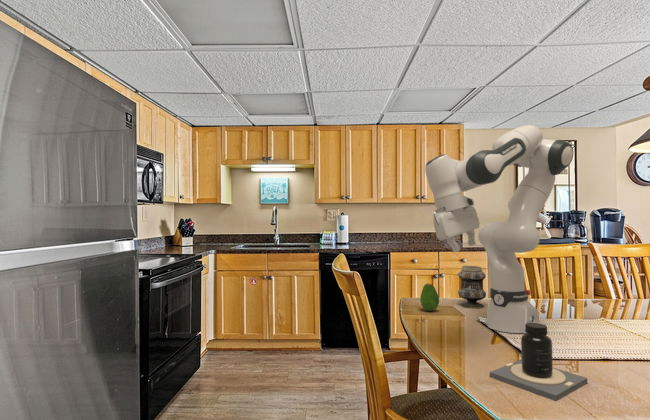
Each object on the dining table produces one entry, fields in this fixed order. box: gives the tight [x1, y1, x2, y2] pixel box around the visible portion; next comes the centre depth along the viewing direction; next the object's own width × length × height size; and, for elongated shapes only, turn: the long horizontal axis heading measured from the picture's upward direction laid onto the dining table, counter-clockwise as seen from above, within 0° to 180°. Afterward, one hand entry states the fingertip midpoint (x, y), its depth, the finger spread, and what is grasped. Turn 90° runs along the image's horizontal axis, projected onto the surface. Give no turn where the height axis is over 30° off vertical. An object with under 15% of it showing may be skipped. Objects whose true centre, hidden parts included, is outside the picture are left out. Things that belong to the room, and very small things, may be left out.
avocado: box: [420, 283, 440, 312], centre depth 168 cm, size 8×8×12 cm
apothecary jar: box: [457, 265, 487, 309], centre depth 177 cm, size 12×12×18 cm
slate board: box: [489, 358, 588, 402], centre depth 97 cm, size 16×16×2 cm
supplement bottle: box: [520, 323, 554, 378], centre depth 96 cm, size 7×7×12 cm
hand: (465, 248), depth 119 cm, fingers open, 8 cm apart
